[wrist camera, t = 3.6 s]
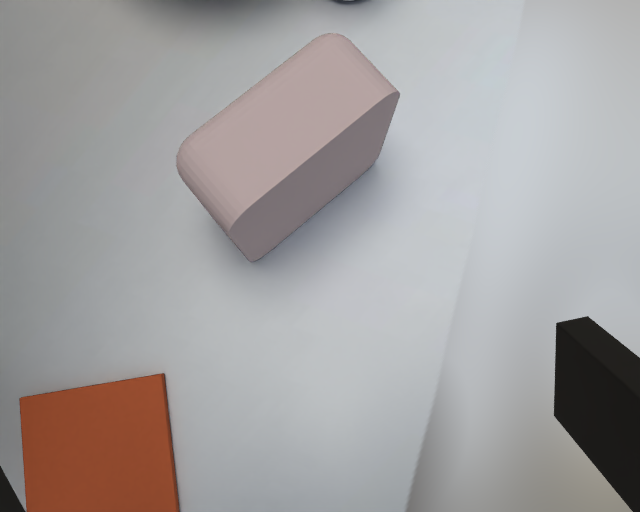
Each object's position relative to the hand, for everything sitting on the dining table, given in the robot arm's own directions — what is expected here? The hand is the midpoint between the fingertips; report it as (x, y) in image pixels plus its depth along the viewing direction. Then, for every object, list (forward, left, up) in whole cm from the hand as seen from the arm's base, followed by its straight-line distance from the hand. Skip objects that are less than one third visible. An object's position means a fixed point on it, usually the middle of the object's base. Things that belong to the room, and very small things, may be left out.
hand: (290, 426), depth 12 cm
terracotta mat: (-12, -2, -18) cm, 22 cm away
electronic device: (+1, +12, -18) cm, 21 cm away
